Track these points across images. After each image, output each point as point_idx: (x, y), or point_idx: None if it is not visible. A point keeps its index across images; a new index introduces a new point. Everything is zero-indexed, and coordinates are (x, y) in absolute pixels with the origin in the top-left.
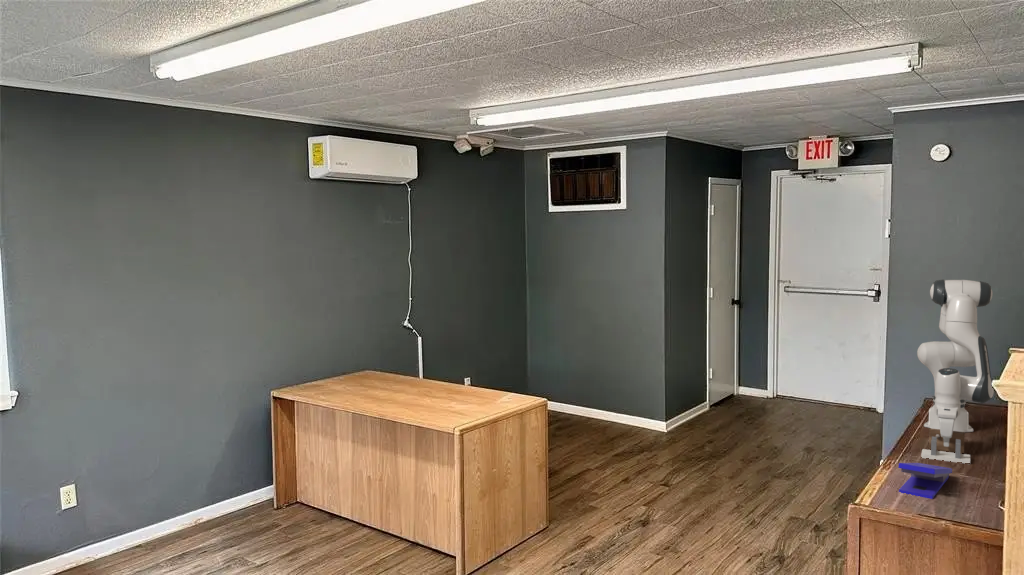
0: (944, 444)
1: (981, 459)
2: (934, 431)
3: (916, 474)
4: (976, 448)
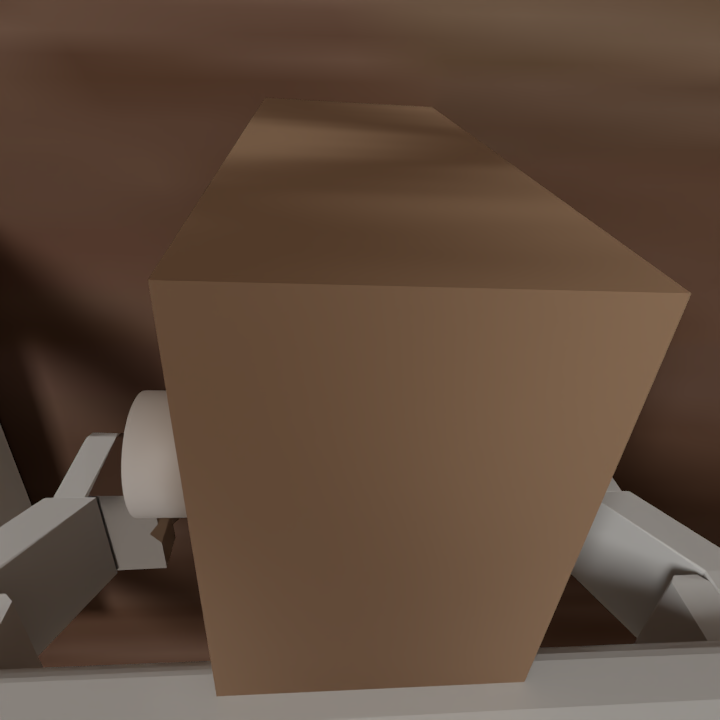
0: (80, 463)
1: (120, 657)
2: (195, 481)
3: None
4: (581, 616)
